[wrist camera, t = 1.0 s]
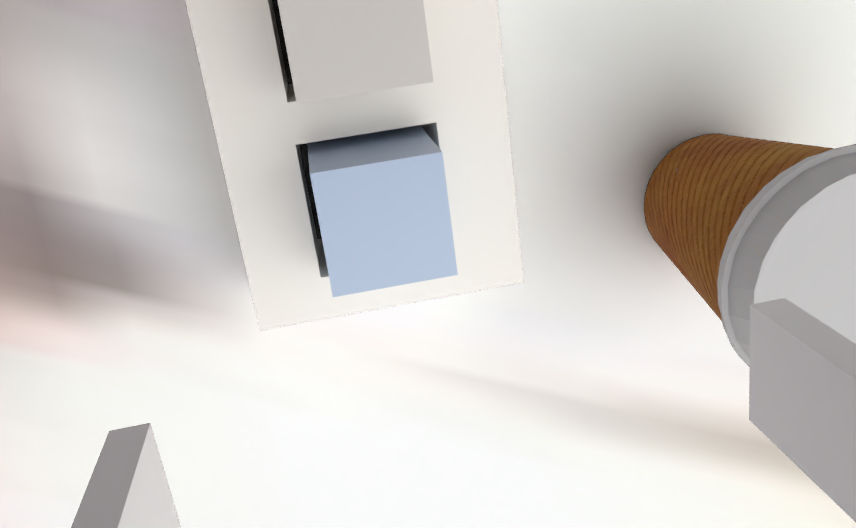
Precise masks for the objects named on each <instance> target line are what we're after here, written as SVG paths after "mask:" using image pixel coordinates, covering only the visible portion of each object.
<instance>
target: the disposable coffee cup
mask: <svg viewBox="0 0 856 528" xmlns="http://www.w3.org/2000/svg"><path fill="white" fill-rule="evenodd" d="M644 213H645V220H646V224H647V227H648V230H649V232H650V234H651V235H652V237H653V239H654V240H655V241H656V243H657V244H658V245H659V246H660V247H661V249H662V250H663V251H664V252H665V253H666V255H667V256H668V257H669V258H670V259H671V261H672V262H673V263H674V264H675V265H676V267H677V268H678V269H679V270H680V271H681V273H682V274H683V275H684V276H685V278H686V279H687V280H688V281H689V282H690V283H691V285H692V286H693V287H694V288H695V289H696V291H697V292H698V293H699V294H700V295H701V297H702V298H703V299H704V300H705V301H706V303H707V304H708V305H709V306H710V308H711V309H712V310H713V311H714V312H715V313H716V315H717V316H718V317H719V318H720V319H721V321H722V323H723V327H724V329H725V331H726V334H727V336H728V338H729V341H730V343H731V345H732V347H733V348H734V350H735V351H736V352H737V354H738V355H739V357H740V358H741V359H742V360H743V361H744V362H745V363H746V364H747V365H748V366H749V367H750V305H751V304H756V303H761V302H766V301H771V300H777V299H782V298H786V299H787V300H789V301H790V302H792V303H793V304H795V305H796V306H798V307H799V308H801V309H803V310H804V311H806V312H807V313H809V314H810V315H812V316H813V317H815V318H816V319H818V320H819V321H821V322H823V323H824V324H826V325H827V326H829V327H830V328H832V329H833V330H835V331H836V332H838V333H839V334H841V335H843V336H844V337H846V338H847V339H849V340H850V341H852V342H853V343H855V344H856V144H854V145H849V146H844V147H840V148H835V149H833V148H825V147H818V146H811V145H802V144H793V143H785V142H777V141H768V140H760V139H752V138H744V137H737V136H729V135H724V134H708V135H702V136H698V137H695V138H692V139H690V140H687V141H685V142H683V143H681V144H680V145H679V146H677V147H676V148H674V149H673V150H671V151H670V152H669V153H668V154H667V155H666V156H665V157H664V158H663V159H662V161H661V162H660V163H659V165H658V166H657V168H656V169H655V170H654V172H653V174H652V176H651V178H650V180H649V183H648V186H647V190H646V193H645V202H644Z"/></svg>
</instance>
